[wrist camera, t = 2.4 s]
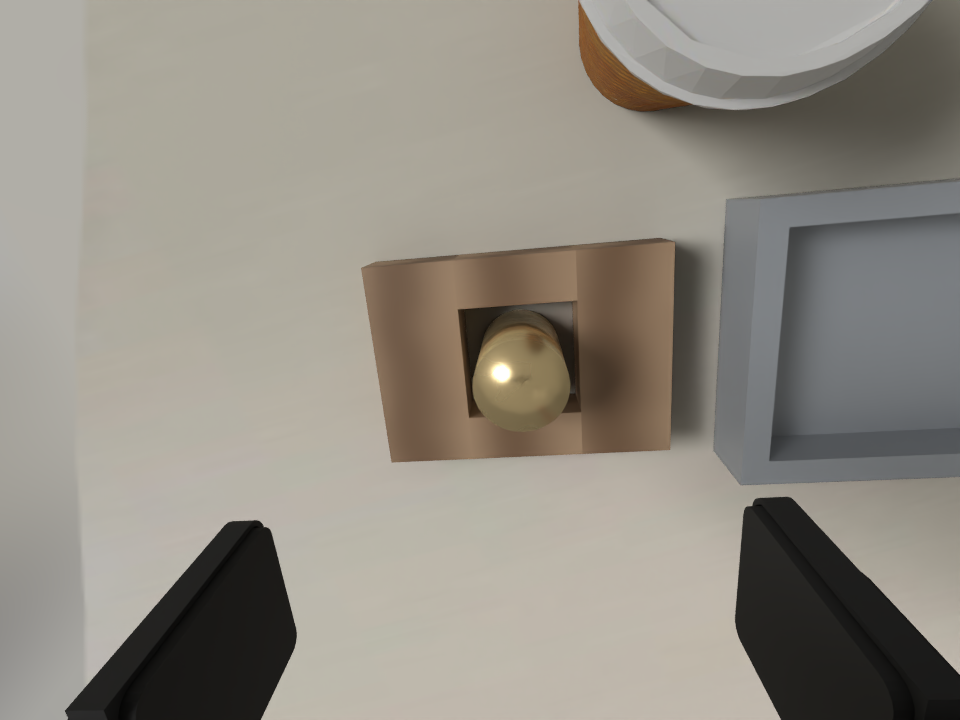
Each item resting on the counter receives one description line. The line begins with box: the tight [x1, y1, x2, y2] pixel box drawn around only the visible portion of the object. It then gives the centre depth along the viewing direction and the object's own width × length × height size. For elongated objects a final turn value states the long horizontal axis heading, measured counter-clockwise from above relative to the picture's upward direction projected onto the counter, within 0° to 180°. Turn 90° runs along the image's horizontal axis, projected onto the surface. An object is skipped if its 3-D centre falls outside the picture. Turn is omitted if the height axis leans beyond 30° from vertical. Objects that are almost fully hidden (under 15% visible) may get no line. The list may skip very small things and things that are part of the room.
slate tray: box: [713, 178, 960, 485], centre depth 23 cm, size 16×13×4 cm
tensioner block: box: [361, 238, 675, 462], centre depth 25 cm, size 14×10×2 cm
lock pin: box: [472, 310, 570, 432], centre depth 24 cm, size 4×4×6 cm
